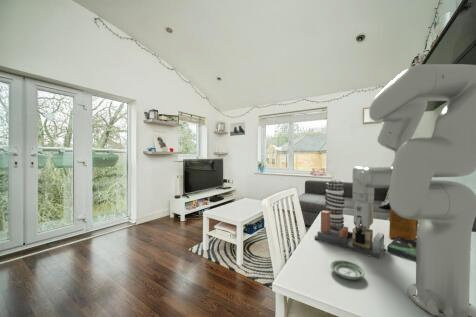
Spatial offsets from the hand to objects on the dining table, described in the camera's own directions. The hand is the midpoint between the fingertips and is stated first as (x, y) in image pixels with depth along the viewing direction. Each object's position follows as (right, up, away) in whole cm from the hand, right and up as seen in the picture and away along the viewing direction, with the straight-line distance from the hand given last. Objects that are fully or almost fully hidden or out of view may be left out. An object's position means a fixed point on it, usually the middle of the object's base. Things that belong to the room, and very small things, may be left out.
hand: (362, 239), depth 82 cm
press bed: (-4, -3, +4) cm, 6 cm away
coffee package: (+25, -3, +10) cm, 27 cm away
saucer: (-16, -4, -18) cm, 24 cm away
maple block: (0, -2, 0) cm, 2 cm away
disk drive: (+17, -4, -2) cm, 17 cm away
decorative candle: (-2, -3, +19) cm, 19 cm away
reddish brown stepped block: (-8, -1, +8) cm, 12 cm away
